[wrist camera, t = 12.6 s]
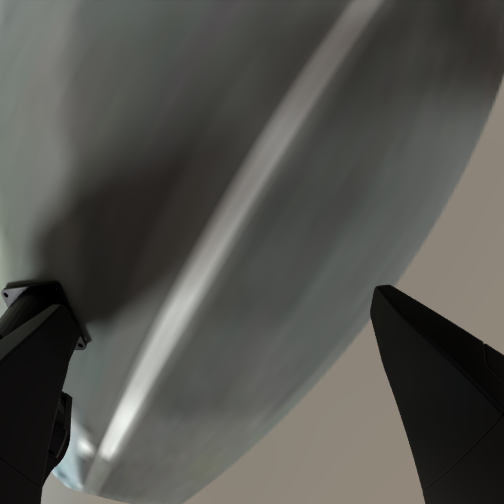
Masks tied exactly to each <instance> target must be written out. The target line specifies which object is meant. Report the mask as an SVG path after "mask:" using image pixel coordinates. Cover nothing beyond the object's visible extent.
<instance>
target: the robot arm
mask: <svg viewBox="0 0 504 504" xmlns="http://www.w3.org/2000/svg"><path fill="white" fill-rule="evenodd" d="M53 286H54V287H56V289H55V288H54V287H53ZM7 294H8V295H7ZM2 296H3V298H4V300H5V303H6V305H7V307H8V309H7V310H6V312H5V313H4V314H3V316H2V317H1V318H0V504H41V496H42V487H43V485H44V483H45V481H46V479H47V477H48V476H49V474H50V472H51V471H52V470H53V469H54V467H56V466H57V465H58V464H59V463H60V462H61V460H62V459H63V457H64V455H65V453H66V451H67V449H68V446H69V442H70V429H71V409H72V397H71V396H70V395H68V394H67V393H64V392H63V391H62V389H63V385H64V382H65V378H66V374H67V369H68V365H69V361H70V359H71V356H72V354H73V351H74V350H84V349H85V348H86V346H87V342H86V340H85V338H84V336H83V334H82V331H81V329H80V327H79V324H78V322H77V320H76V318H75V316H74V314H73V311H72V309H71V307H70V306H69V303H68V301H67V299H66V296H65V294H64V292H63V289H62V287H61V285H60V283H59V282H57V281H48V282H41V283H34V284H27V285H20V286H12V287H6V288H4V289H3V290H2ZM370 316H371V320H372V324H373V328H374V332H375V336H376V339H377V343H378V347H379V351H380V356H381V359H382V363H383V366H384V369H385V372H386V374H387V377H388V380H389V383H390V386H391V388H392V392H393V394H394V397H395V400H396V403H397V406H398V409H399V412H400V415H401V418H402V421H403V425H404V428H405V431H406V434H407V437H408V441H409V444H410V447H411V450H412V454H413V458H414V461H415V465H416V468H417V472H418V476H419V479H420V483H421V487H422V490H423V496H424V500H425V504H504V355H502V354H501V353H500V352H498V351H496V350H495V349H493V348H492V347H490V346H489V345H487V344H484V343H483V342H482V341H481V340H479V339H478V338H476V337H474V336H473V335H472V334H470V333H468V332H467V331H465V330H464V329H462V328H460V327H458V326H457V325H456V324H454V323H452V322H451V321H449V320H448V319H446V318H444V317H443V316H441V315H439V314H438V313H436V312H435V311H433V310H431V309H429V308H428V307H426V306H425V305H423V304H421V303H420V302H418V301H416V300H415V299H413V298H411V297H410V296H408V295H406V294H405V293H403V292H401V291H400V290H398V289H396V288H395V287H393V286H391V285H381V286H377V287H376V288H375V289H374V293H373V299H372V304H371V309H370ZM80 343H81V344H80Z"/></svg>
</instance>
